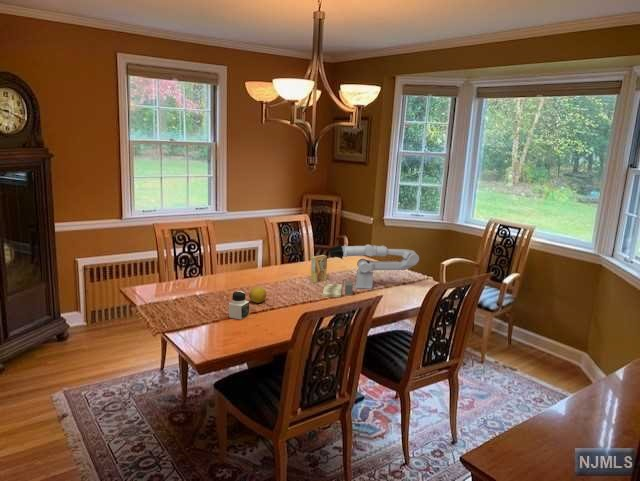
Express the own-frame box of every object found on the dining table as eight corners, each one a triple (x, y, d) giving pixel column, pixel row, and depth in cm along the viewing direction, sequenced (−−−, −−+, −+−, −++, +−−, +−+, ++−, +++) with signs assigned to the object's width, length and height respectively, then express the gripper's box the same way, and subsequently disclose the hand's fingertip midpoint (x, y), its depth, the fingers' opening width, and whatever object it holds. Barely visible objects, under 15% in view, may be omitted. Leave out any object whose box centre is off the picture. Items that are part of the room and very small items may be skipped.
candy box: (322, 278, 295) (322, 254, 291) (326, 280, 292) (327, 255, 288) (310, 281, 289) (311, 256, 286) (315, 283, 286) (315, 258, 283)
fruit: (259, 306, 246) (259, 291, 245) (246, 303, 250) (246, 288, 248) (269, 301, 254) (269, 286, 252) (256, 298, 258) (256, 283, 256)
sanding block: (352, 291, 272) (352, 281, 271) (352, 296, 265) (352, 285, 264) (345, 291, 272) (345, 281, 271) (344, 295, 266) (345, 285, 264)
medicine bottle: (241, 320, 227) (241, 295, 225) (228, 317, 230) (228, 293, 227) (249, 315, 234) (249, 291, 231) (236, 312, 236) (236, 289, 234)
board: (341, 286, 281) (341, 284, 281) (341, 297, 263) (341, 295, 262) (324, 285, 282) (324, 283, 282) (322, 296, 263) (322, 294, 263)
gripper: (352, 240, 283) (329, 241, 283) (354, 247, 269) (330, 248, 269) (352, 252, 285) (329, 253, 285) (354, 259, 271) (330, 260, 271)
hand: (329, 251), depth 277 cm, fingers open, 7 cm apart
